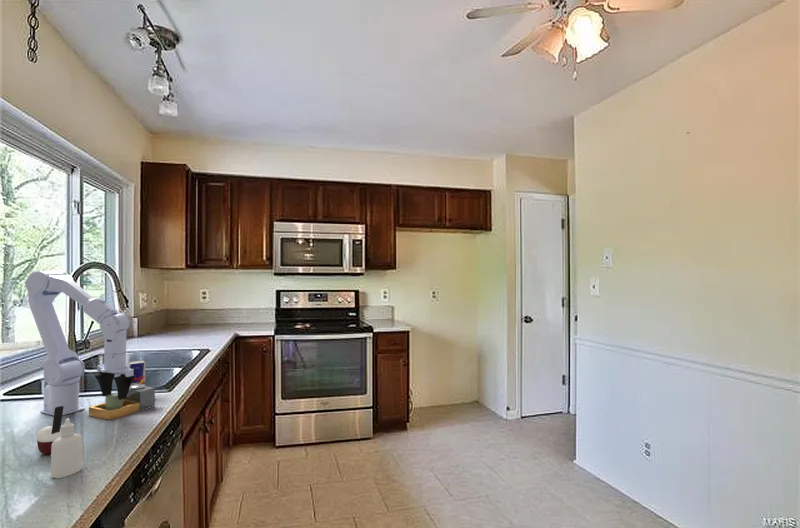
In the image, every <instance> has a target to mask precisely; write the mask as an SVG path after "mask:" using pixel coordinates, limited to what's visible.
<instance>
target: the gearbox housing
mask: <svg viewBox="0 0 800 528" xmlns="http://www.w3.org/2000/svg"><path fill="white" fill-rule="evenodd" d="M155 389H156V387H152V386H147V385H146V384H145V385H144V384H133V385H131V386H130V388H129V391H128V398H125V399H123V407H121V408H117V409H114V410H105V402H103V403H100V404H95V405H91V406H89V407H88V416H91V417H95V418H99V419H102V418H103V420H106V419H108V420H107V421H111V420H113V419H114V418H115V419H117V417H118V418H121V417H123V416H128V415H130V413H131V414H134V413H137V412H140V411H139V410H141V411H144V410H143V409H145V410H147V409H146V408H148V409H150V408H149V407H151V408H153V407H152V406H154V407H155V402H156V401H155V400H156V393H155V392H156V390H155ZM136 411H137V412H136ZM133 412H134V413H133ZM127 414H128V415H127ZM110 419H111V420H110ZM115 419H114V420H115Z"/></svg>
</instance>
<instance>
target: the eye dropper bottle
mask: <svg viewBox="0 0 800 528" xmlns="http://www.w3.org/2000/svg"><path fill="white" fill-rule="evenodd" d="M70 419H71V418H66V419H65V421H64V424H61V436H60V437H59V438H57V439H56V440H55V441H54V442H53V443H52V446H51V455H50V458H51V460H50V476H51V478H53V479H58V480H59V479H62V478H66V477H69V476H71V475H74V474H76V473H78V472H80V471H81V470H82V469H83V456H84V455H83V454H84V453H83V452H84V451H83V450H84V449H83V448H84V446H83V444H84V441H83V436H82V434H79V433H75V423H72V422H71V420H70Z"/></svg>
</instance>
